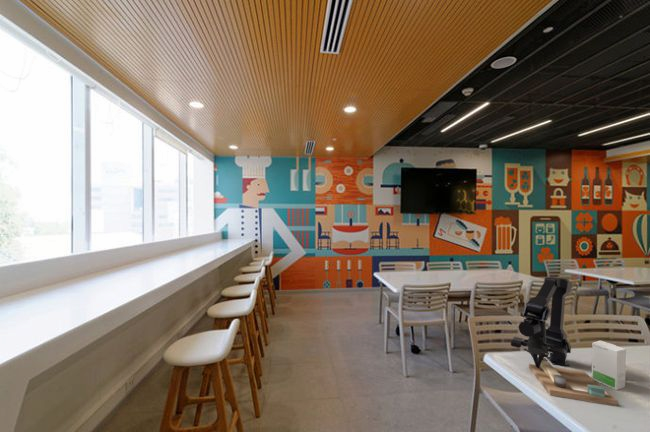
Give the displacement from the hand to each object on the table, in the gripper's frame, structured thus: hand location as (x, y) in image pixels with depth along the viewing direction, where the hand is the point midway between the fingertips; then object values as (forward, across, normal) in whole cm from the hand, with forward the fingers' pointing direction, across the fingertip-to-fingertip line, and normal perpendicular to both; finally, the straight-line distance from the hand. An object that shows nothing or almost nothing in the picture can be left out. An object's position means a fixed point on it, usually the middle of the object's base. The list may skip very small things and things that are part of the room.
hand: (537, 367), depth 119 cm
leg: (+1, +5, -2) cm, 5 cm away
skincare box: (+3, +21, +13) cm, 25 cm away
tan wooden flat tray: (+3, +10, -1) cm, 10 cm away
